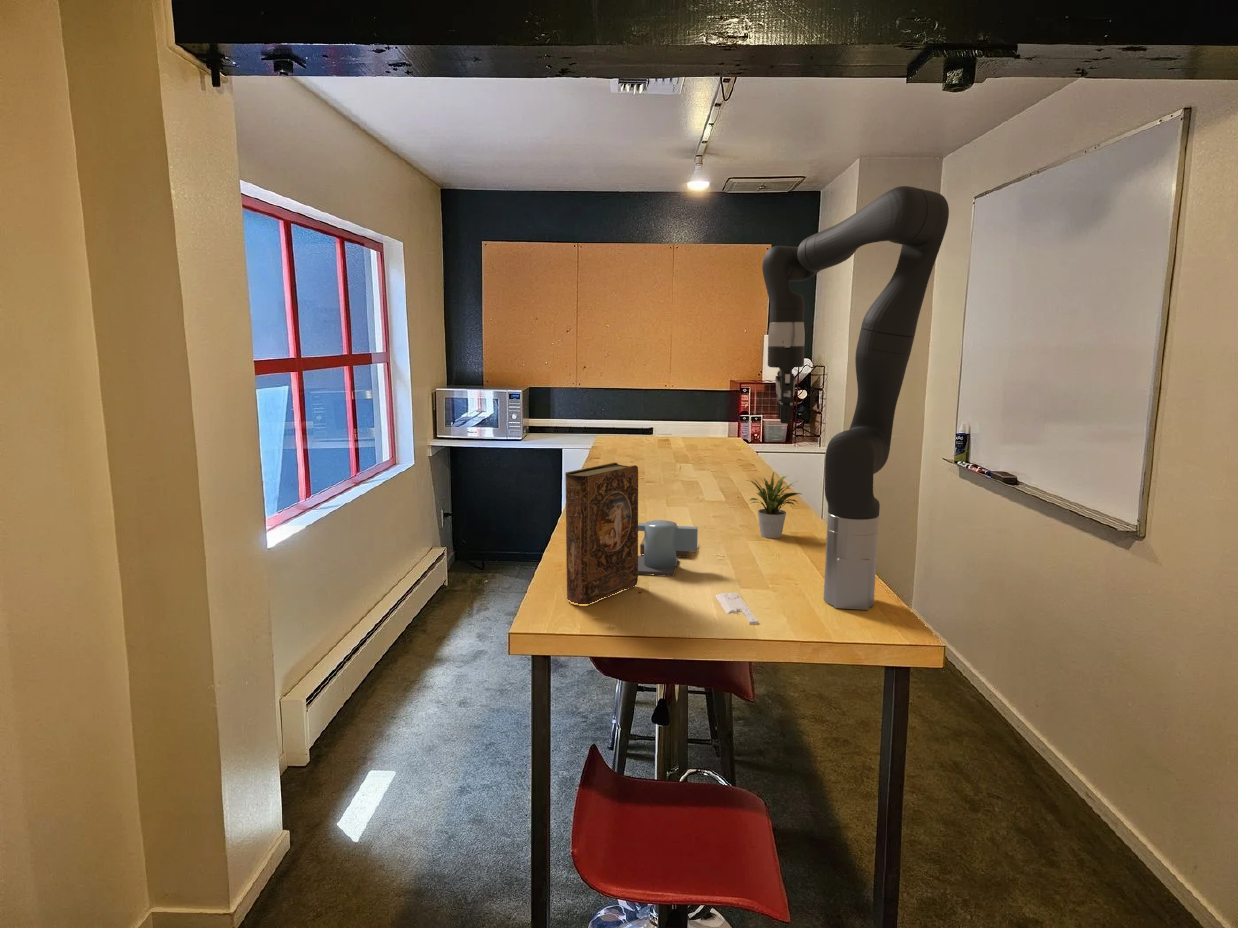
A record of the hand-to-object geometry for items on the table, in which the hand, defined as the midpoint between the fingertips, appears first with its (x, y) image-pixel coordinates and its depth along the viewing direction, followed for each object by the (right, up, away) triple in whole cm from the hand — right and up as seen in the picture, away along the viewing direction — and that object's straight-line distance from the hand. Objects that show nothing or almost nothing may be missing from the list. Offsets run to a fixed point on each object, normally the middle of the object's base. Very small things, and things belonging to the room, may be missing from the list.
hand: (784, 421), depth 161 cm
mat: (-28, -32, +4) cm, 43 cm away
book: (-39, -35, -12) cm, 54 cm away
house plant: (+2, -28, +29) cm, 40 cm away
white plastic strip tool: (-14, -37, -21) cm, 44 cm away
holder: (-24, -30, +17) cm, 42 cm away
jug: (-25, -31, +4) cm, 40 cm away
